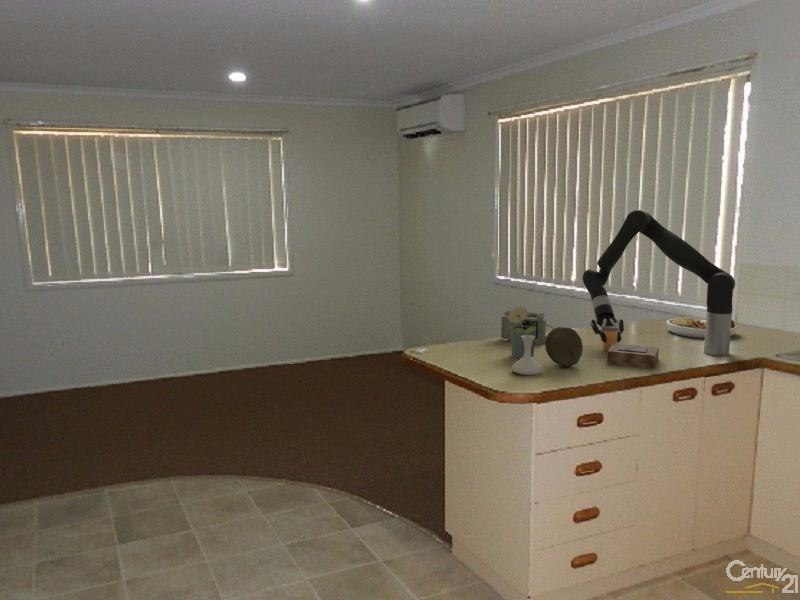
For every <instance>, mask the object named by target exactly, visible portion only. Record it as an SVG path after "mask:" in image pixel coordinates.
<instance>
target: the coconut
mask: <svg viewBox="0 0 800 600" xmlns="http://www.w3.org/2000/svg"><path fill="white" fill-rule="evenodd" d="M544 347H545V352H546V355H547V356H548V357H549V358H550V359H551V361H552V362H553V363H555V364H556V365H558V366H561V367H563V368H571V367H572V366H575V365H576V364H577V363H579V361H580V359H581V357H582V354H583V350H584V349H583V347H584V345H583V341H582V338H581V337H580V335H579V333H578V332H577V331H576V330H575V329H573V328H571V327H562V326H558V327H554V329H553V328H552V329H551V330H550V331H549V332H548V334H547V337H546V339H545V344H544Z"/></svg>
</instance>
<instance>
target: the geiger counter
mask: <svg viewBox="0 0 800 600" xmlns="http://www.w3.org/2000/svg"><path fill="white" fill-rule="evenodd" d="M511 311H512V310H509V309H508V310H506V311H505V312H504V313H503V315H502V316H501V327H500V328H501V333H500V335H501V336H500V338H503V339H508V340H511V327H512V326H521V322H522V326H532V327H533V326H534V327H535V328H536V333H535V340H534V344H535V343H540V344H539V345H545V340H546V337H547V336H546V333H547V330H546V329H547V327H550V328H552V330H553V329H555V327H553V326H552V325H549V324H547V319H546V318H545V312H541V311H537V312H531V311H527V312H528V313H527V316H526V318H525V319H524V320H523V321H521V322H518V323H513V322H512V323H511V322H509V319H508V316H509V314H510V312H511ZM503 339H500V340H501V341H504V340H503Z"/></svg>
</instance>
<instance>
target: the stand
mask: <svg viewBox="0 0 800 600" xmlns="http://www.w3.org/2000/svg"><path fill="white" fill-rule="evenodd" d="M659 348H660V347H659V346H651V345H643V344H642V345H641V344H629V343H620V342H617V343H613V345H612V346H611V347H610V349H609V350H608V351H607V353H606V354H607V360H606V365H616V366H617V365H618V366H625V367H634V368H645V369H654V370H655V368H656V367H657V363H658V362H659V361H658V360H659V350H660V349H659Z"/></svg>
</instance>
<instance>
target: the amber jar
mask: <svg viewBox="0 0 800 600" xmlns="http://www.w3.org/2000/svg"><path fill="white" fill-rule="evenodd" d="M618 329H619V326H618V325H617V326H604V333H605V336H606V342H603V341H602V342H603V343H602V344H603V347H602V350H603V351H604V352H608V350H609V349H610V347H611V346H612V345H613V343H618V342H617V337H618Z"/></svg>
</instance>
